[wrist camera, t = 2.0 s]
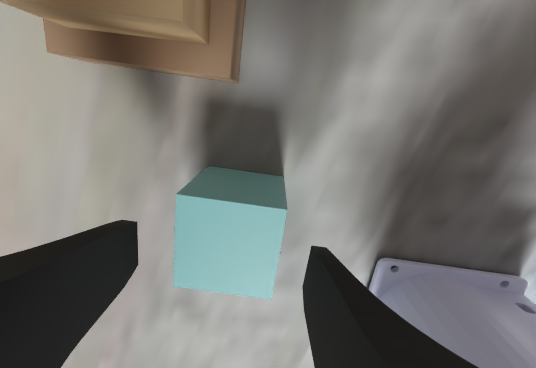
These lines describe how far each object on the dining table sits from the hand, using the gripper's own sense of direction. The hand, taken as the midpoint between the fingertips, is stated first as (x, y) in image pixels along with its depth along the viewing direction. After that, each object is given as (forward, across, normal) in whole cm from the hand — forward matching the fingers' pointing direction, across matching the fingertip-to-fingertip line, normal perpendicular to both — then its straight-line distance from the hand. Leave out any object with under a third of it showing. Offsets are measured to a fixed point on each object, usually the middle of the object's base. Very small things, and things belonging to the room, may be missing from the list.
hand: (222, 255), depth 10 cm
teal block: (+5, 0, 0) cm, 5 cm away
